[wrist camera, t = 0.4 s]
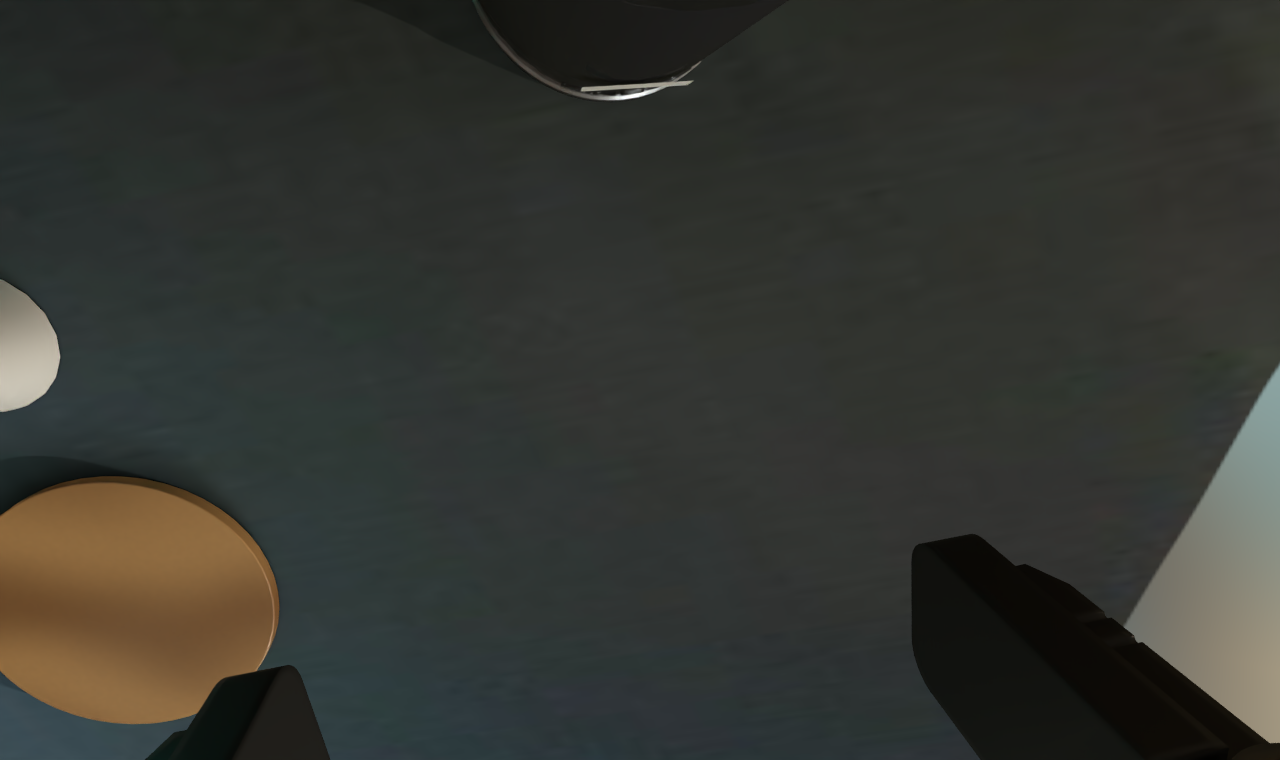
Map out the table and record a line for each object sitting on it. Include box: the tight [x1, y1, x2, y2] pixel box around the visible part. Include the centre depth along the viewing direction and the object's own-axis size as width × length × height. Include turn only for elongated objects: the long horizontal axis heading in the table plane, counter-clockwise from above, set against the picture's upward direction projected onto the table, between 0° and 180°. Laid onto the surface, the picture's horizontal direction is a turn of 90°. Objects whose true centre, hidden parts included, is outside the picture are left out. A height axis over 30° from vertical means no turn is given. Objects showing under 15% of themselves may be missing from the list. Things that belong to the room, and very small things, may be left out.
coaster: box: [0, 476, 279, 724], centre depth 27 cm, size 11×11×1 cm
